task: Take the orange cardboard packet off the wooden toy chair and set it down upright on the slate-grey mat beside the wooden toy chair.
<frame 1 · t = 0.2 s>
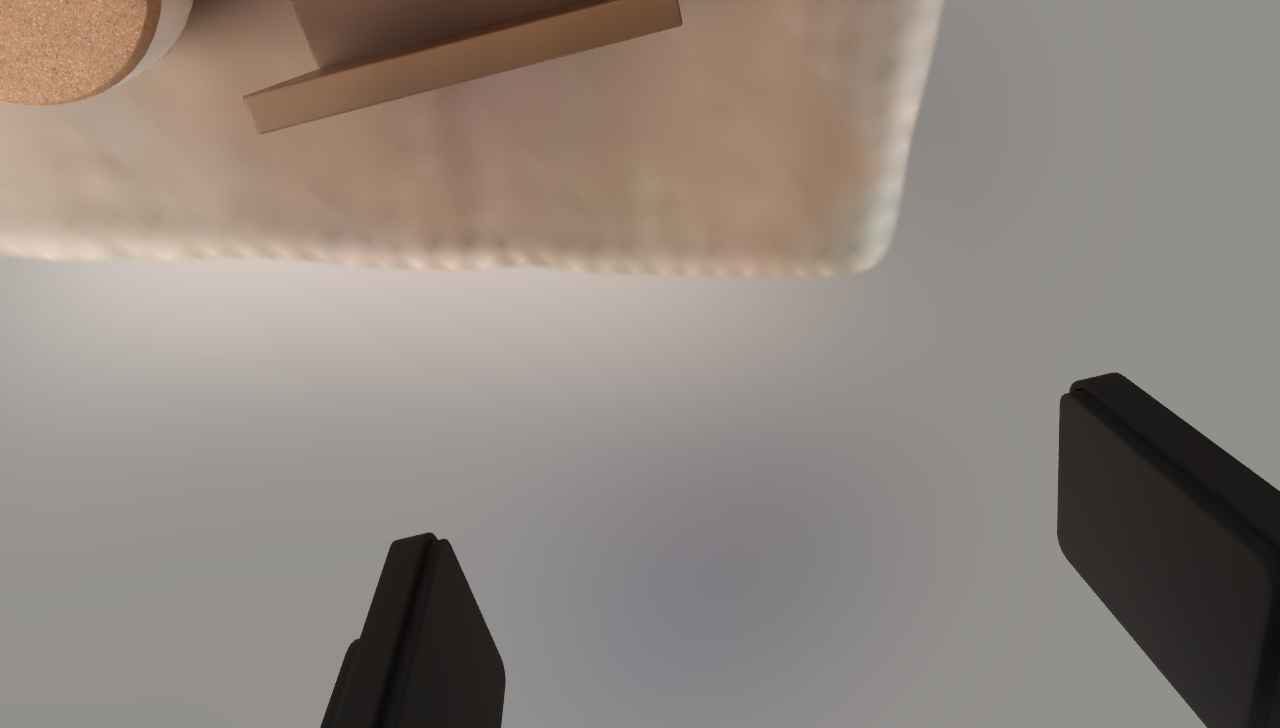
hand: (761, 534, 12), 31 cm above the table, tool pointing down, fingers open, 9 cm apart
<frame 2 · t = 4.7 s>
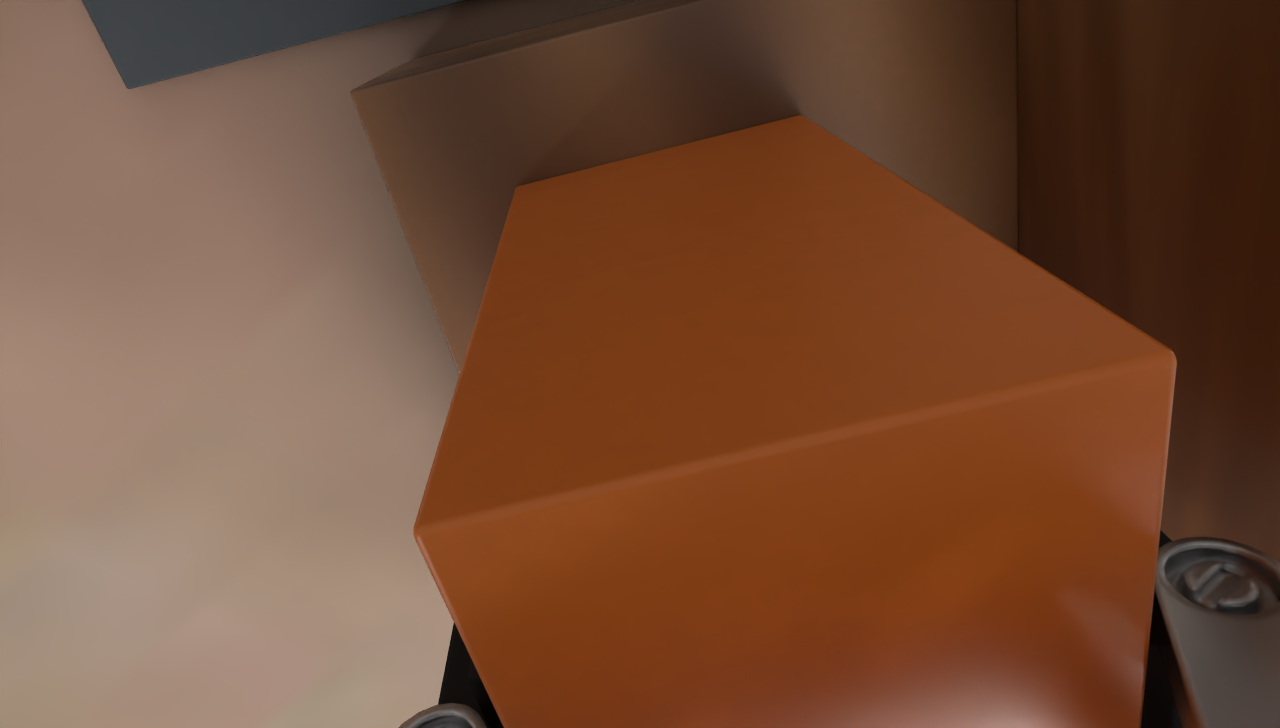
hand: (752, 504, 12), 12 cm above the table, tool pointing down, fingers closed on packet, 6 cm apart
wooden toy chair: (721, 246, 23), on the table
packet: (700, 344, 18), point 6 cm above the table, touching gripper, wooden toy chair
when the fingers open (6 cm above the table, at t = 13.2 s): packet stays where it is, resting on mat.
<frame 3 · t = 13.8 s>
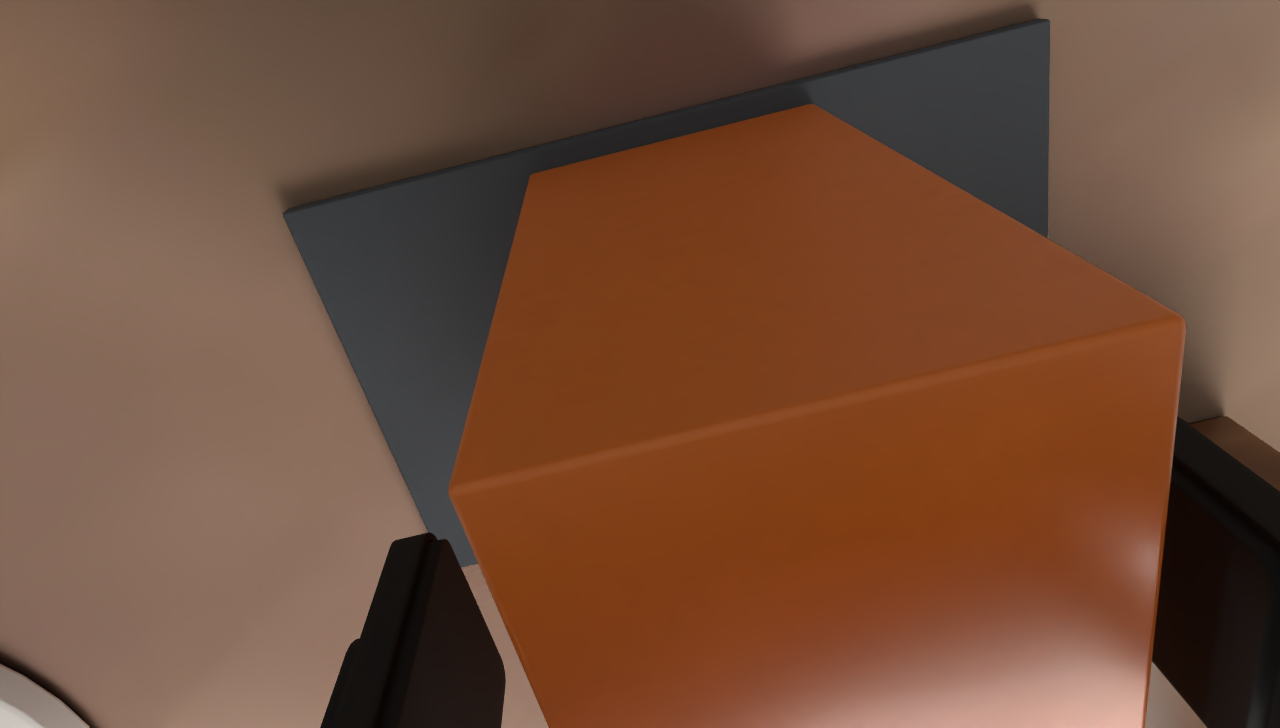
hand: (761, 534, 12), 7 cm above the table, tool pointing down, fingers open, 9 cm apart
wooden toy chair: (971, 655, 24), on the table
packet: (710, 331, 18), resting on mat
mat: (701, 328, 18), on the table
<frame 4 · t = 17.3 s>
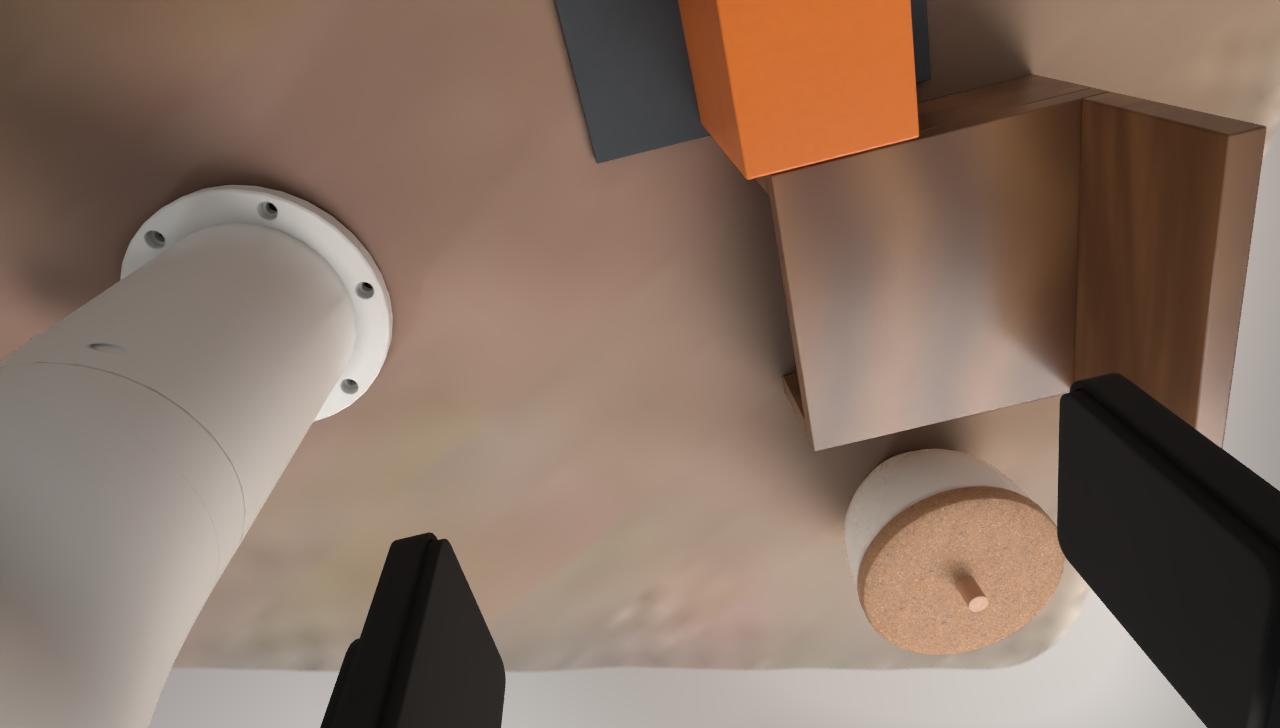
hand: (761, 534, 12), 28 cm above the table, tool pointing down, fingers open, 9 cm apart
wooden toy chair: (898, 247, 40), on the table
packet: (748, 5, 34), resting on mat
mat: (742, 7, 34), on the table
trinket box: (906, 491, 47), on the table
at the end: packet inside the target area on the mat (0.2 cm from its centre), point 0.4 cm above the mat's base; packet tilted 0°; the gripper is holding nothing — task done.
